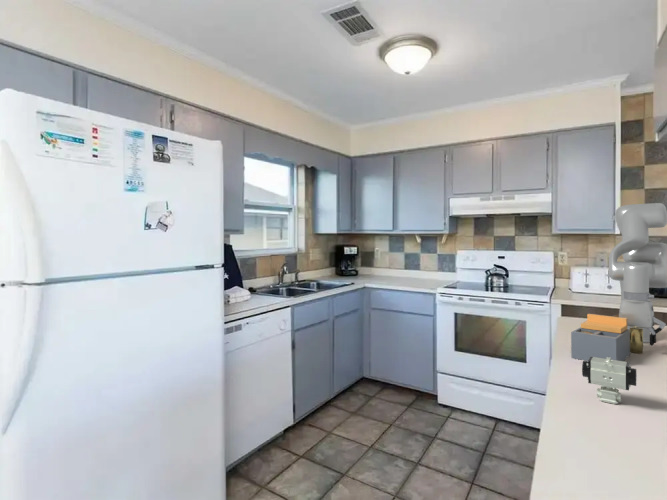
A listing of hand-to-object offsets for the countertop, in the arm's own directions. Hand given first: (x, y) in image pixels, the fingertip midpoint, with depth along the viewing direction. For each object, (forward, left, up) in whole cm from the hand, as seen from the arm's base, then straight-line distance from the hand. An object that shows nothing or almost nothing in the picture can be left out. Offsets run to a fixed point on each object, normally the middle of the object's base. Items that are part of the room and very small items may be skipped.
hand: (636, 342), depth 145 cm
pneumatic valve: (+57, +5, -4) cm, 57 cm away
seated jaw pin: (+18, -11, -4) cm, 22 cm away
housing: (+15, -8, -4) cm, 17 cm away
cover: (+11, -8, +6) cm, 14 cm away
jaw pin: (0, 0, -4) cm, 4 cm away
